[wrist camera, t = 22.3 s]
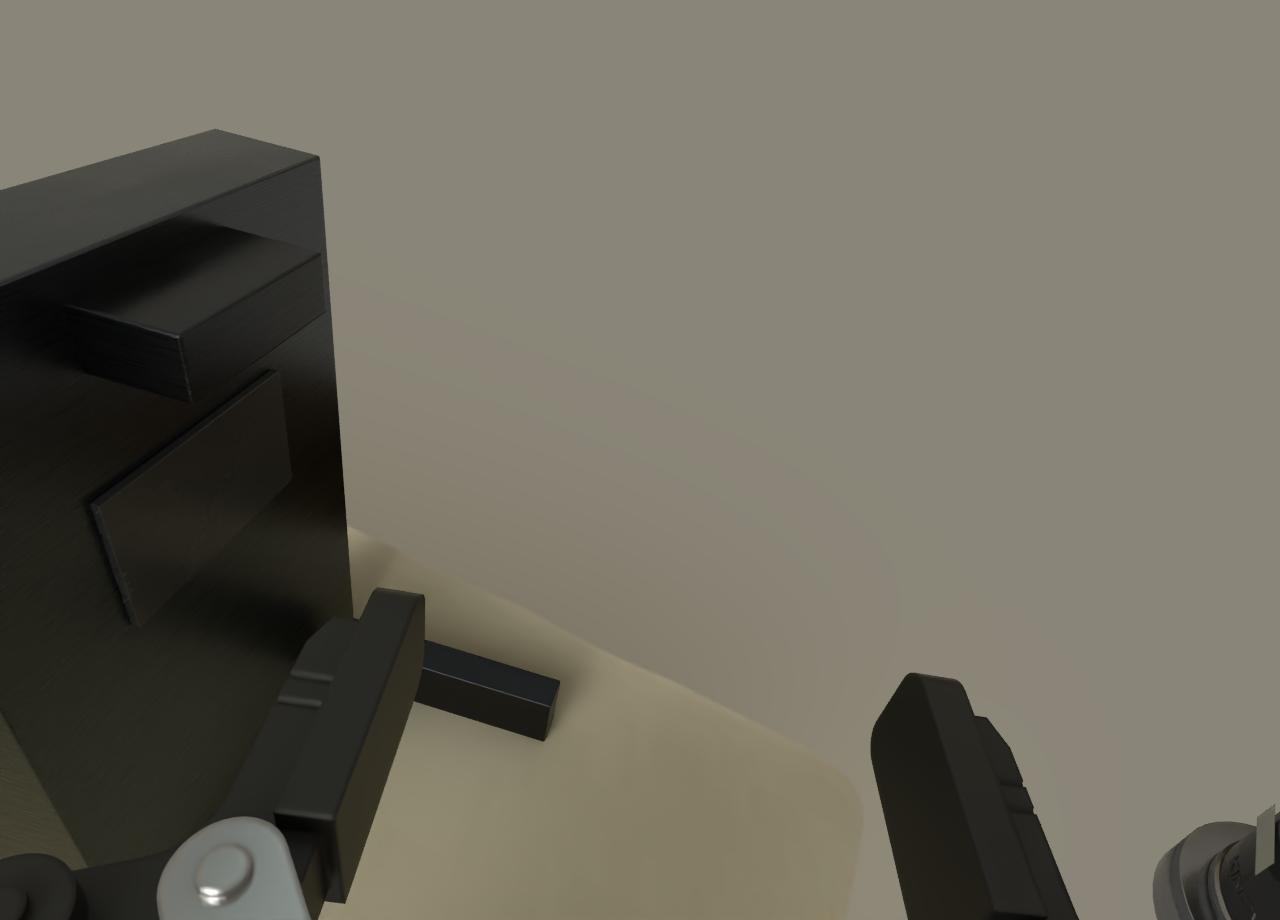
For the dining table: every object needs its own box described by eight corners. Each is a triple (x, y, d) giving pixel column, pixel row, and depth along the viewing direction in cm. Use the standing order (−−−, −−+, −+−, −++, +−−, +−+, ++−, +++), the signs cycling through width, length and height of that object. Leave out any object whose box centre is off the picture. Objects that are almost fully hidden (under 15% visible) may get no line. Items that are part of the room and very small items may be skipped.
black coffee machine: (563, 689, 40) (652, 242, 25) (433, 1044, 27) (457, 554, 12) (287, 604, 41) (214, 127, 26) (33, 907, 28) (-399, 301, 13)
